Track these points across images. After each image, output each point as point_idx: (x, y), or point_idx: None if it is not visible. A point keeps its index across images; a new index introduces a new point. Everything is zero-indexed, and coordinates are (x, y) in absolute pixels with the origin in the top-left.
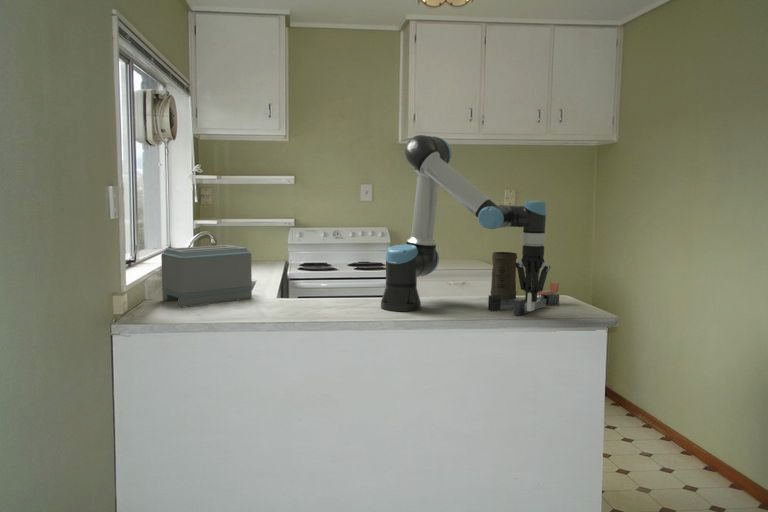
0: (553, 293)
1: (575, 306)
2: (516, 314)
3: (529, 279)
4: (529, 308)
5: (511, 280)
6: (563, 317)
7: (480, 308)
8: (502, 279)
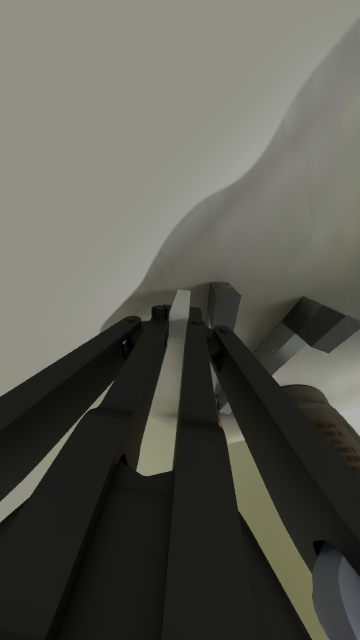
0: None
1: (163, 410)
2: (220, 282)
3: (182, 375)
4: (181, 292)
5: None
6: None
7: (344, 308)
8: (339, 454)
